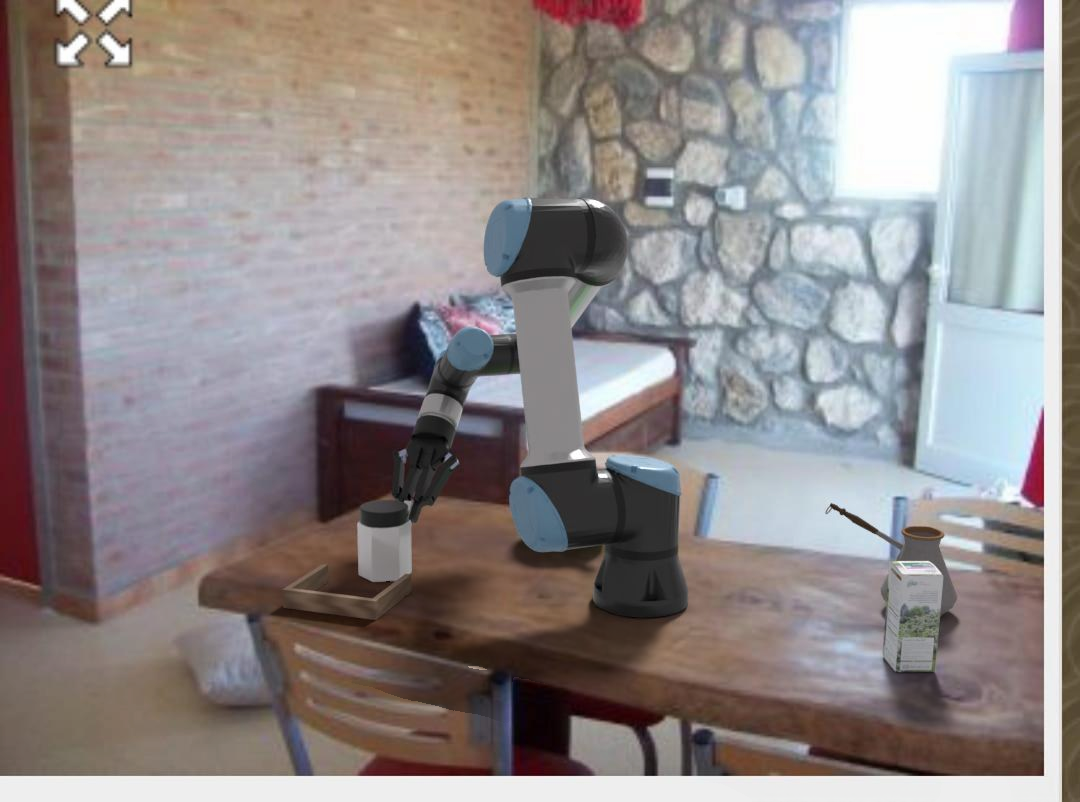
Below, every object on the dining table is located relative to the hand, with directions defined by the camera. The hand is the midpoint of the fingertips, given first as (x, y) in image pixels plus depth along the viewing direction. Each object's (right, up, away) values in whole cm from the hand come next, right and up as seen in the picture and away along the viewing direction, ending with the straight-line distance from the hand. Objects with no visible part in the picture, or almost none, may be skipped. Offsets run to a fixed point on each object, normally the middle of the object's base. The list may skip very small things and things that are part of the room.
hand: (400, 536), depth 207 cm
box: (-6, -8, -17) cm, 20 cm away
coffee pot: (+79, -9, -18) cm, 82 cm away
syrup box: (+76, -13, -42) cm, 88 cm away
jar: (-2, -6, -6) cm, 8 cm away
